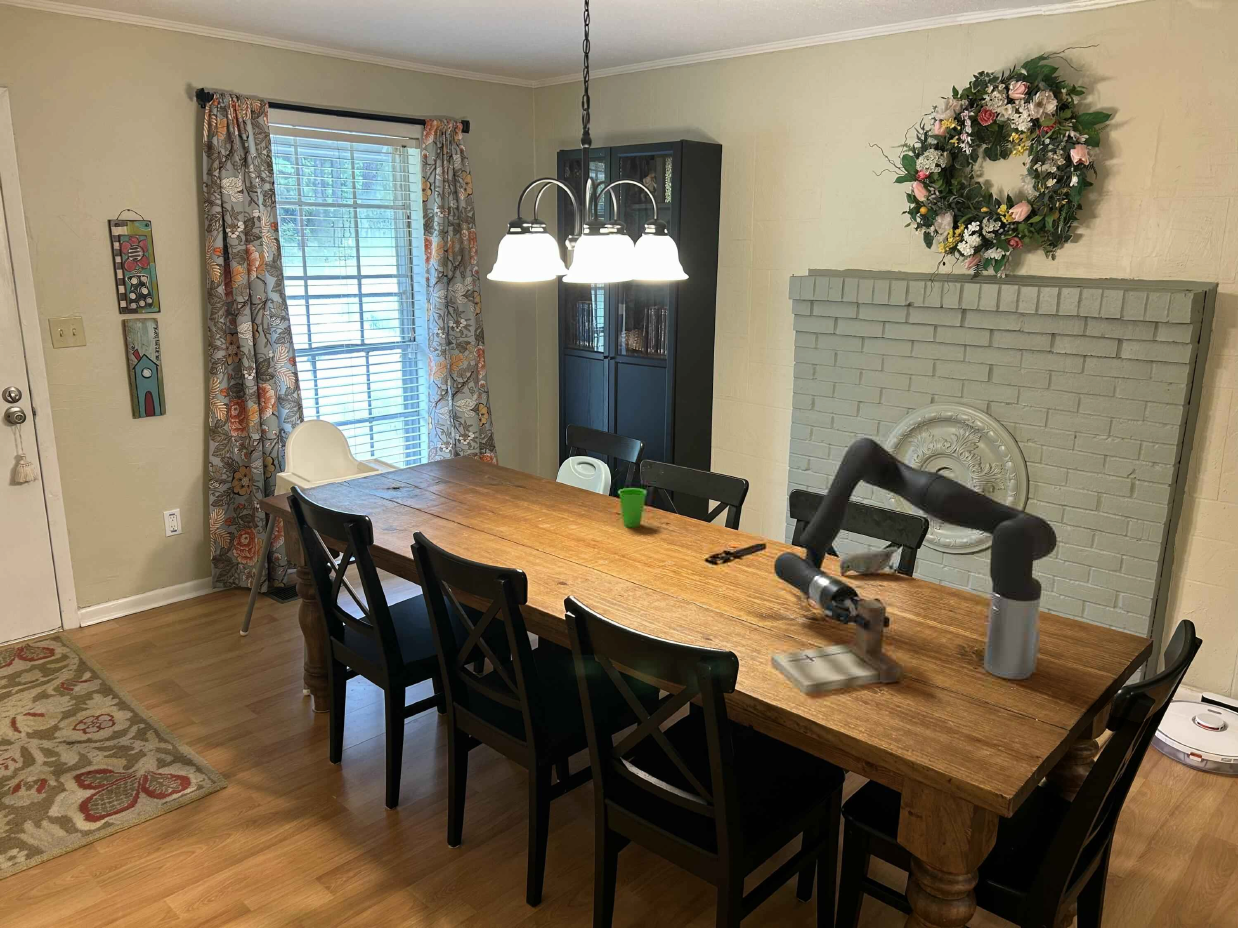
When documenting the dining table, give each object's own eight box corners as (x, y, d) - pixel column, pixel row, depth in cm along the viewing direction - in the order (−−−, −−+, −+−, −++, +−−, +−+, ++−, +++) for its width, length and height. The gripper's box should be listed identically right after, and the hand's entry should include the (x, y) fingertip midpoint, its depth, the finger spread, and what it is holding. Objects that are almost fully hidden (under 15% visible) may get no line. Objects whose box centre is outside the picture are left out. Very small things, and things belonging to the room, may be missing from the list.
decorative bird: (836, 572, 249) (837, 546, 247) (891, 569, 251) (893, 543, 249) (843, 579, 244) (845, 552, 242) (900, 576, 246) (902, 550, 244)
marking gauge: (864, 654, 197) (869, 596, 193) (900, 680, 185) (905, 618, 182) (848, 657, 195) (853, 598, 192) (883, 682, 184) (888, 621, 181)
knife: (762, 544, 272) (763, 540, 272) (778, 550, 267) (779, 545, 267) (699, 560, 258) (699, 556, 257) (715, 567, 253) (715, 562, 252)
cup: (652, 525, 289) (652, 491, 286) (632, 531, 282) (633, 497, 280) (631, 519, 295) (631, 486, 292) (611, 525, 288) (612, 491, 286)
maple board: (859, 650, 200) (860, 641, 200) (898, 678, 187) (899, 669, 187) (770, 664, 193) (771, 655, 192) (805, 694, 180) (805, 684, 180)
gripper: (805, 582, 200) (849, 611, 184) (861, 575, 205) (909, 603, 189) (804, 614, 202) (847, 646, 186) (859, 607, 207) (906, 637, 191)
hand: (878, 624), depth 188 cm, fingers closed on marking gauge, 4 cm apart
